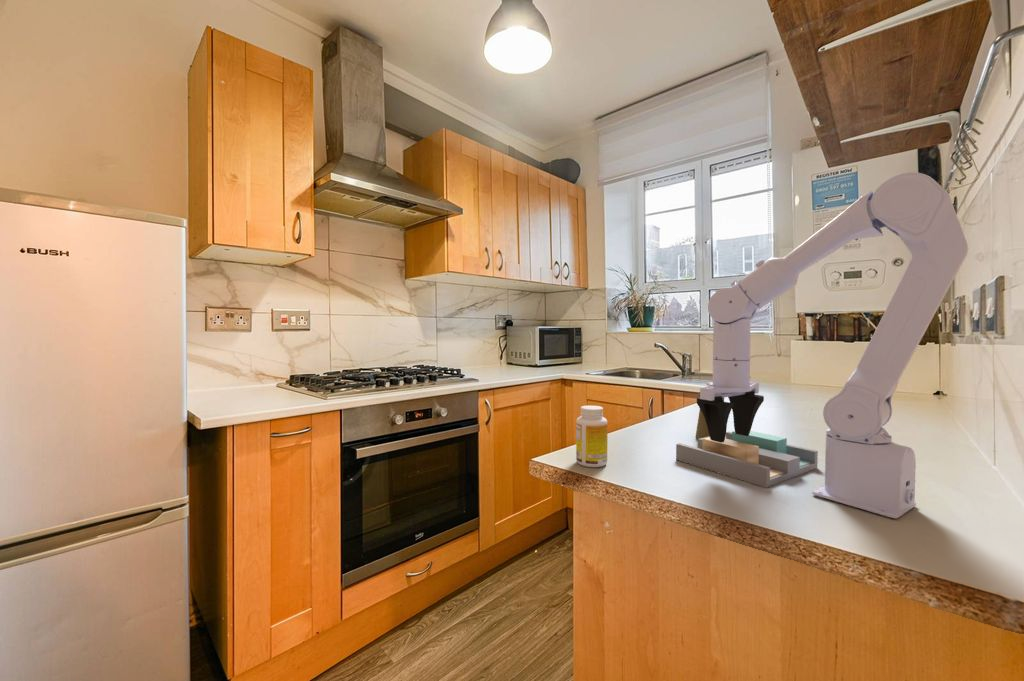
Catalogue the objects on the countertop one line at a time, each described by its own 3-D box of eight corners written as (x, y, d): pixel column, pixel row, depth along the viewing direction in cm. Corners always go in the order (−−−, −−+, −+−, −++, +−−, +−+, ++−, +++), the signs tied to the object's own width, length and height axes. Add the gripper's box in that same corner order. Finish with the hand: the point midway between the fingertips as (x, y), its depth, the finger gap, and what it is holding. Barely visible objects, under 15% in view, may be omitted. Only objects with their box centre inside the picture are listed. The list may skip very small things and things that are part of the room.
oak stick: (758, 467, 70) (758, 446, 70) (746, 470, 68) (747, 449, 68) (713, 454, 77) (714, 435, 77) (702, 457, 75) (702, 438, 75)
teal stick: (786, 457, 75) (786, 438, 75) (776, 460, 74) (776, 441, 74) (741, 446, 82) (742, 429, 82) (731, 449, 80) (732, 431, 80)
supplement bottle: (613, 463, 76) (613, 407, 75) (595, 470, 72) (595, 411, 72) (588, 456, 80) (588, 403, 79) (569, 463, 76) (569, 407, 76)
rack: (817, 467, 73) (817, 450, 73) (766, 487, 64) (766, 468, 64) (728, 446, 87) (728, 431, 87) (676, 459, 78) (676, 443, 78)
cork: (719, 436, 94) (720, 387, 94) (730, 443, 88) (731, 392, 88) (691, 435, 95) (692, 387, 95) (700, 443, 89) (701, 391, 89)
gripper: (732, 356, 79) (731, 427, 80) (684, 359, 72) (683, 438, 72) (771, 359, 74) (770, 435, 74) (723, 362, 66) (722, 448, 66)
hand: (730, 437), depth 73 cm, fingers open, 7 cm apart
